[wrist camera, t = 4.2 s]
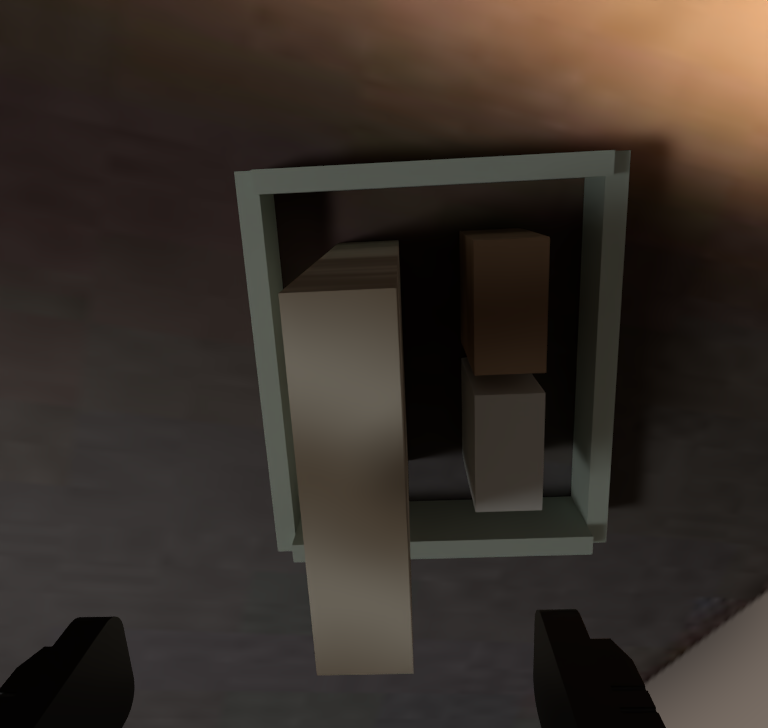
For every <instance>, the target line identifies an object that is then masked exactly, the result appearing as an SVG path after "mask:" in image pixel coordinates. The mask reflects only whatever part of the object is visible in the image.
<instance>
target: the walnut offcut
mask: <svg viewBox="0 0 768 728" xmlns="http://www.w3.org/2000/svg"><path fill="white" fill-rule="evenodd" d="M459 252H460V322H461V343H462V345H463V348H464V350H465V353H466V355H467V358H468V360H469V363H470V365H471V368H472V370H473V373H474V375H475V376H477V375H503V374H528V373H546V363H547V328H548V292H549V257H550V237H548V236H545V235H542V234H539V233H535V232H532V231H529V230H526V229H523V228H508V229H487V230H467V231H459Z"/></svg>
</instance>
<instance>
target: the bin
mask: <svg viewBox="0 0 768 728" xmlns="http://www.w3.org/2000/svg"><path fill="white" fill-rule="evenodd" d="M630 156H631V150H625V151H615V150H604V151H586V152H568V153H550V154H531V155H513V156H495V157H477V158H458V159H440V160H422V161H403V162H385V163H367V164H349V165H330V166H312V167H294V168H276V169H257V170H251V171H241V172H234V175H235V184H236V192H237V201H238V210H239V218H240V227H241V235H242V244H243V253H244V261H245V270H246V278H247V287H248V296H249V304H250V313H251V321H252V330H253V339H254V347H255V356H256V365H257V373H258V382H259V390H260V399H261V408H262V416H263V425H264V433H265V442H266V451H267V459H268V468H269V476H270V485H271V494H272V502H273V511H274V519H275V528H276V537H277V545H278V551H293V560H294V562H306V561H305V551H304V541H303V531H302V521H301V512H300V502H299V492H298V482H297V472H296V462H295V453H294V443H293V433H292V423H291V413H290V403H289V394H288V384H287V374H286V364H285V354H284V344H283V335H282V325H281V315H280V305H279V295H278V293H279V292H281V291H282V290H283V284H282V274H281V264H280V254H279V244H278V234H277V223H276V213H275V203H274V194H286V193H305V192H323V191H342V190H361V189H380V188H399V187H418V186H437V185H456V184H475V183H493V182H512V181H531V180H550V179H569V178H585V183H584V206H583V229H582V252H581V275H580V298H579V321H578V345H577V368H576V391H575V414H574V437H573V460H572V483H571V496H566V497H543V501H542V510H532V511H498V512H475V508H474V504H473V499H469V500H437V501H409V516H410V556H411V559H436V558H473V557H510V556H548V555H585V554H592V552H593V543H597V542H606V534H607V519H608V503H609V487H610V471H611V456H612V440H613V424H614V408H615V393H616V377H617V361H618V345H619V330H620V314H621V298H622V282H623V267H624V251H625V235H626V219H627V204H628V188H629V172H630Z"/></svg>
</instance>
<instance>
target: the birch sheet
mask: <svg viewBox="0 0 768 728" xmlns="http://www.w3.org/2000/svg"><path fill="white" fill-rule="evenodd" d="M278 295H279V305H280V315H281V325H282V335H283V344H284V354H285V364H286V374H287V384H288V394H289V403H290V413H291V423H292V433H293V443H294V453H295V462H296V472H297V482H298V492H299V502H300V512H301V521H302V531H303V541H304V551H305V561H306V571H307V580H308V590H309V600H310V610H311V620H312V630H313V639H314V649H315V659H316V669H317V675H364V674H413V636H412V596H411V556H410V516H409V477H408V447H407V423H406V400H405V377H404V353H403V330H402V306H401V283H400V260H399V240H391V241H371V242H350V243H338V244H337V245H336V246H334V247H333V248H332V249H331V250H330V251H328V252H327V253H326V254H325V255H324V256H322V257H321V258H320V259H319V260H318V261H316V262H315V263H314V264H313V265H312V266H311V267H309V268H308V269H307V270H306V271H305V272H303V273H302V274H301V275H300V276H299V277H297V278H296V279H295V280H294V281H293V282H291V283H290V284H289V285H288V286H287V287H285V288H284V289H283V290H282V291H281V292H279V293H278Z"/></svg>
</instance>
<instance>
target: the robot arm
mask: <svg viewBox="0 0 768 728" xmlns="http://www.w3.org/2000/svg"><path fill="white" fill-rule="evenodd" d="M533 682H534V693H535V701H536V707H537V712H538V716H539V720H540V724H541V728H666V727H665V725H664V723H663V721H662V719H661V717H660V715H659V713H657V712H656V707H655V705H654V703H653V701H652V699H651V697H650V695H649V693H648V691H646V689H645V684H644V682H643V680H642V678H641V676H640V674H639V672H638V670H637V668H636V666H635V664H634V662H633V660H632V659H631V658H630V657H629V656H628V655H627V654H626V653H625V652H624V651H623V650H622V649H621V648H619V647H618V646H617V645H616V644H615V643H614V642H613V641H612V640H611V639H590V637H589V635H588V632H587V630H586V627H585V625H584V623H583V620H582V618H581V616H580V614H579V612H578V610H576V609H558V610H537V611H536V613H535V631H534V668H533ZM133 697H134V677H133V672H132V667H131V662H130V657H129V652H128V647H127V642H126V637H125V633H124V628H123V624H122V621H121V620H120V619H119V618H118V617H79V618H76V619H75V620H73V621H72V622H71V623H70V625H69V626H68V627H67V628H66V630H65V631H64V632H63V634H62V635H61V636H60V637H59V639H58V640H57V641H56V643H55V644H54V645H53V646H52V647H44V648H42V649H41V650H40V651H38V652H37V653H36V654H34V655H33V656H32V657H30V658H29V659H28V660H26V661H25V662H24V663H23V664H21V665H20V666H19V667H17V668H16V669H15V671H14V672H13V673H12V674H11V676H10V677H9V678H8V679H7V680H6V682H5V683H4V684H3V685H2V687H1V688H0V728H122V727H123V725H124V723H125V721H126V719H127V717H128V715H129V712H130V710H131V706H132V702H133Z"/></svg>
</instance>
